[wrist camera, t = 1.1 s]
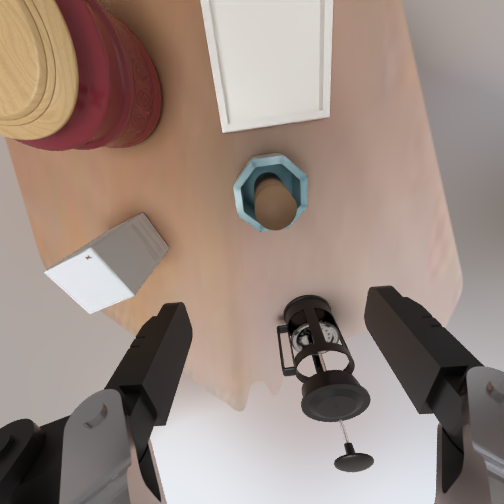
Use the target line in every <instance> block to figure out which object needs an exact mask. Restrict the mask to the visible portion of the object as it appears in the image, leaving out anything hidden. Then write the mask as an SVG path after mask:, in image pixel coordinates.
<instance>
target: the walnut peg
mask: <svg viewBox="0 0 504 504" xmlns="http://www.w3.org/2000/svg"><path fill="white" fill-rule="evenodd" d="M254 200H255V216H256V219H257V221H258V222H259V223H260V225H262V226H263V227H264V228H266V229H269V230H281V229H283V228H286V227H287V226H289V225H290V224H291V223H292V222H293V220H294V218H295V216H296V213H297V204H296V201H295V199H294V198H293V196H292V195H291V193H290V192H289V191H288V189H287V188H286V187H285V185H284V184H283V182H282V181H281V180H280V178H279V177H278V176H277V175H276V174H274V173H271V172H266V173H263V174H261V175H259V176H258V177H257V179H256V181H255V184H254Z"/></svg>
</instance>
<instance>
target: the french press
mask: <svg viewBox="0 0 504 504" xmlns="http://www.w3.org/2000/svg"><path fill="white" fill-rule="evenodd" d="M314 309H321V310H324V317H323V319H322V320H318V318H317V315H316V313H315V310H314ZM303 310H304V311H305V315H306V318H307V322H305V323H303V324H301V325H299V326H298V325H296V324H294V323H293V322H292V320H291V318H292V317H293V316H294V315H295V314H297V313H298V312H300V311H303ZM284 320H285V322H286V325H282V326H277V334H278V342H279V350H280V358H281V365H282V371H283V375H284V376H293V375H296V377H297V378H298V379H299V380H300V381H301V382H303V383H304V384H303V386H302V395H303V399H302V402H301V407H302V410H303V412H304V413H305V415H307V416H308V417H310V418H312V419H314V420H318V421H323V422H338V421H339V422H340V425H341V428H342V432H343V434H344V438H345V441H346V443H345V444H344V446H345V450H346V455H344V456H341V457H339V458H337V459H336V460H335V462H334V465H335V467H336V468H337V469H339V470H341V471H346V472H358V471H362V470H365V469H367V468H369V467H370V466H371V465H373V463H374V459H373V457H371V456H370V455H368V454H363V453H355V451H354V448H353V445H352V443H349V440H348V437H347V434H346V431H345V428H344V425H343V422H342V421H344V420H347V419H351V418H353V417H355V416H357V415H359V414H361V413H362V412H364V411H365V410H366V409H367V407H368V406H369V404H370V396H369V393H368V392H367V390H366V389H365V388H363V387H362V386H360V384H359V383H358V381H357V380H356V379H355V378H354V376H353V375H352V372H353V370H354V366H355V365H354V361H353V359H352V356H351V354H350V352H349V350H348V348H347V345H346V343H345V341H344V339H343V337H342V335H341V332H340V330H339V328H338V326H337V324H336V321H335V319H334V317H333V315H332V313H331V308H330V306H329V304H328V303H327V301H326V300H324V299H323V298H321V297H319V296H314V295H305V296H301V297H298V298H296V299H294V300H292V301H291V302H290V303H289V304H288V305H287V306H286V308H285V310H284ZM286 332H288V336H289V342H290V347H291V353H292V358H293V364H294V367H288V368H285V367H284V360H283V353H282V346H281V339H280V333H286ZM290 336H291V339H290ZM339 339H340V341H341V343H342V345H340V344H337V343H338V341H339ZM292 346H293V348H294V349H295V350H296V351H298V352H299V353H298V354H297V355H296V357H295V359H294V355H293V349H292ZM328 351H338V352H341V353H344V354H346V355H347V357H348V359H349V364H348V365H347V367H346V368H345V369H344V370H343V371H342V370H328V371H327V370H326V367H325V364H324V361H323V358H322V355H321V354H323V353H326V352H328ZM309 355H312V357H313V361H314V365H315V368H316V372H317V374H315V375H313V376H311V377H306V376H304V375H302V374H301V373H299V372H298V371H297V366H298V364H299V363H300V362H301V361H302V359H304V358H305V357H307V356H309Z"/></svg>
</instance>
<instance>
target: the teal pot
mask: <svg viewBox="0 0 504 504" xmlns="http://www.w3.org/2000/svg"><path fill="white" fill-rule="evenodd" d="M266 172H271V173H274V174H276V175H277V176H278V177H279V178H280V180H281V181H282V182H283V184H284V185H285V187H286V188H287V189H288V191H289V192H290V193H291V195H292V196H293V198H294V199H295V201H296V204H297V213H296V216H295V218H294V220H293V222H294V221H295V220H296V219H297V218H298V217H299V216H300V215H301V214H302V212H303V211H304V210H305V209H306V208H307V207H308V190H307V175H305V174H304V173H303V172H302V171H301V170H300V169H299V168H298V167H297V166H295V165H294V164H293V163H292V162H291V161H290V160H289V159H288V158H286V157H285V156H284V155H282V154H280V153H278V152H277V153H269V154H262V155H255V156H252V157H251V158H250V159H249V161H248V162H247V164H246V165H245V167H244V168H243V169H242V171H241V172H240V174H239V175H238V176H237V178H236V180H235V183H234V185H233V189H234V195H235V201H236V207H237V213H238V216H239V217H241V218H242V219H244V220H245V221H246V222H248V223H249V224H250V225H252V226H253V227H254V228H256V229H257V230H259V231H260V232H262V231H271V230H269V229H266V228H264V227H263V226H262V225H260V223H259V222H258V221H257V219H256V216H255V200H254V184H255V181H256V179H257V177H258V176H259V175H261V174H263V173H266ZM293 222H292V223H293ZM292 223H291V224H290V225H289V226H287V227H286V228H283V229H287V228H289V227H290V226H291V225H292Z"/></svg>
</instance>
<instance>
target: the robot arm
mask: <svg viewBox="0 0 504 504" xmlns="http://www.w3.org/2000/svg"><path fill="white" fill-rule="evenodd" d="M364 319H365V324H366V327H367V329H368V331H369V332H370V334H371V336H372V337H373V339H374V341H375V342H376V344H377V346H378V347H379V349H380V351H381V352H382V354H383V355H384V357H385V359H386V360H387V362H388V364H389V365H390V367H391V369H392V370H393V372H394V373H395V375H396V377H397V378H398V380H399V382H400V383H401V385H402V387H403V388H404V390H405V391H406V393H407V395H408V396H409V398H410V400H411V401H412V403H413V404H414V406H415V408H416V410H417V411H418V413H419V414H432V413H434V414H435V416H436V417H437V419H438V421H439V424H438V429H437V430H438V431H437V475H436V498H435V503H434V504H504V372H502V371H500V370H497V369H494V368H490V367H485V366H484V365H483V364H481V363H480V362H479V361H478V360H477V359H476V358H475V357H474V356H473V355H472V354H471V353H470V352H469V351H468V350H467V349H466V348H465V347H464V346H463V345H462V344H461V343H460V342H459V341H458V340H457V339H456V338H455V337H453V335H452V334H450V332H448V331H447V330H446V329H445V328H444V327H442V326H441V324H440V323H439V322H438V321H437V320H436V319H435V318H433V317H432V315H431V314H430V313H429V312H428V311H427V310H426V309H425V308H424V307H423V306H422V305H420V304H418V303H417V302H415V301H413V300H412V299H410V298H408V297H402V296H401V295H400V294H399V292H398V291H397V290H396V289H395V288H394V287H392V286H378V287H370V288H369V291H368V296H367V302H366V307H365V313H364ZM191 342H192V326H191V323H190V320H189V317H188V314H187V311H186V308H185V305H184V303H183V302H178V303H166V304H164V305H163V306H162V308H161V310H160V312H159V313H158V315H157V316H153V317H152V318H150V319H149V320H148V321H147V322H146V323H145V324H144V325H143V326H142V328H141V329H140V331H139V332H138V334H137V336H136V339H134V341H133V342H132V344H131V346H130V349H128V351H127V352H126V354H125V356H124V357H123V359H122V361H121V362H120V364H119V366H118V367H117V369H116V371H115V372H114V374H113V376H112V377H111V379H110V380H109V382H108V384H107V385H106V387H105V388H104V390H101V391H99V392H97V393H95V394H93V395H91V396H90V397H88V398H87V399H86V400H84V401H83V402H82V403H81V404H80V405H79V406H78V407H77V408H76V409H75V411H74V412H73V413H72V414H71V415H70V416H67V417H64V418H62V419H59V420H56V421H54V422H51V423H49V424H46V425H43V426H41V427H38V426H37V425H36V424H35V423H34V422H33V421H31V420H30V419H20V420H17V421H14V422H11V423H9V424H7V425H6V426H4V427H2V428H1V429H0V504H167V503H166V499H165V495H164V491H163V487H162V483H161V480H160V476H159V472H158V468H157V464H156V460H155V456H154V452H153V448H152V444H151V441H150V435H151V432H152V430H153V427H154V426H164V425H166V422H167V418H168V416H169V412H170V409H171V406H172V403H173V400H174V396H175V393H176V390H177V387H178V384H179V380H180V377H181V374H182V371H183V367H184V364H185V361H186V358H187V355H188V351H189V348H190V345H191Z"/></svg>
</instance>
